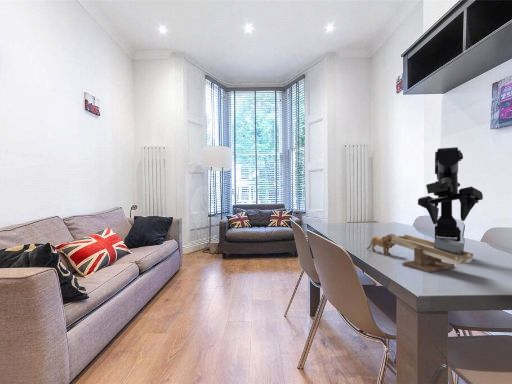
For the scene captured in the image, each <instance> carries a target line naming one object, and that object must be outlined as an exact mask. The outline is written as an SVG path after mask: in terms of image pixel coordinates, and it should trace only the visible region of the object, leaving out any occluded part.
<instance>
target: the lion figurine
mask: <svg viewBox="0 0 512 384" xmlns="http://www.w3.org/2000/svg"><path fill="white" fill-rule="evenodd" d="M392 236H396V234H395V233H389V234H387V235H384V236H383V237H379V236H375V235H374V236H373V237H372V238H371V240H370V244H369V246H367V247H366V249H367V250H368V249H370V248H371V252H372V253H375V252H376V251H375V250H376V249H375V247H376V246H378V247H381V248H382V249H383V250H382V251H383V255H384V256H386V255H387V256H388V255H390V254H391V253H390V252H389V250H390V249H392V248H393V247H394V246H395V245H396V246H397V244H394V243H391V238H392Z"/></svg>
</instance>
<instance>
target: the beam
mask: <svg viewBox="0 0 512 384" xmlns="http://www.w3.org/2000/svg"><path fill="white" fill-rule="evenodd" d="M391 243H394V244H396V246H400V247H403V248H406V249H409V250H412V251H414V248H421V249H423V253H424V254H427V255H430V256H433V257H436V258H439V259H442V261H444V262H447V263H451V264H454V265H461V264H467V263H471V262H473V256H474V253H473V252H469V251H465V250H464V251H463V255H461V256H458V255H455V254H452V253H448V252H445V251H442V250H438V249H435V248H434V241H431V240H427V239H423V238H419V237H416V236H412V235H409V234H407V233H405V234H403V235H395V236H392V238H391Z"/></svg>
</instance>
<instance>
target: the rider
mask: <svg viewBox="0 0 512 384" xmlns="http://www.w3.org/2000/svg"><path fill="white" fill-rule="evenodd" d="M446 238H447V237H444V238H439V239H435V238H434V241H433V242H434V248H435V249H438V250H442V251H445V252H448V253H452V254H455V255H458V256H461V255H463V251H465V250H464V249H465V242H464V243H463V242H461V241H459V242H457V241H453V240H449V239H446Z"/></svg>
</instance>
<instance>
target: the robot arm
mask: <svg viewBox="0 0 512 384" xmlns="http://www.w3.org/2000/svg"><path fill="white" fill-rule="evenodd" d="M463 154H464V153H463V152H462V151H461V150H460V149H459V147H456V146H455V147H440V148H437V151H434V175H436V181H435V182H432V183H427V184H426V186H425V188H426V190H427V194H428V195H427V196H421V197H419V198H417V205H418V206H420V207H421V208H424V209H426V212H427V213H428V214H429V217H430V218H431V219H430V220H431V221H432V224H434V240H435V239H439V238H446V239H449V240H453V241H457V242H461V235H462V231H461V229H460V228H459V226H458V223H457V220H456V218H454V216H453V201H456V200H459V203H460V220H461V221H463V222H464V221H466V219H467V217H468V216H469V214H470V212H471V210H472V209H473V208H474V206H475V205H476V204H478V203H479V201H483V199H484V195H483V192H482V191H481V190H479V189H477V188H475V187H473V186H472V185H471V186H467V187H463V188H460V189H458V188H459V187H461V183H460V182H459V180H458V179H459V178H458V174H459V162H461V161H462V160H464V155H463ZM429 194H433V196H435V197H431V196H430V195H429ZM439 204H440V207H438V206H439ZM439 210H440V216H439ZM438 217H439V218H438Z"/></svg>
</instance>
